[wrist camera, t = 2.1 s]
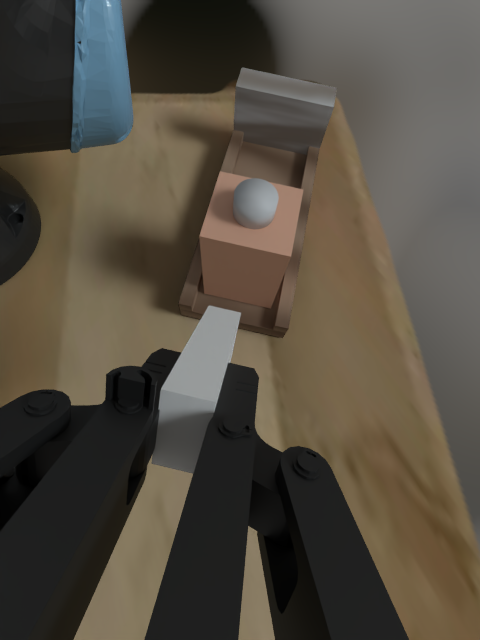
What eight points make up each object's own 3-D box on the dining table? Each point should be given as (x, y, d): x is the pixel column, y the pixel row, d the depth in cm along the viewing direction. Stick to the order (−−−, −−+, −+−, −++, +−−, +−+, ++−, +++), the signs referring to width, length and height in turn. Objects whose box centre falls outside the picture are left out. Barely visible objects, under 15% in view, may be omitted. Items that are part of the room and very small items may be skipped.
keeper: (270, 308, 30) (296, 243, 20) (204, 293, 30) (198, 220, 21) (281, 255, 32) (309, 172, 23) (219, 241, 33) (220, 153, 23)
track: (282, 337, 31) (301, 307, 24) (181, 314, 31) (171, 277, 24) (316, 149, 40) (336, 87, 33) (237, 132, 40) (242, 67, 33)
